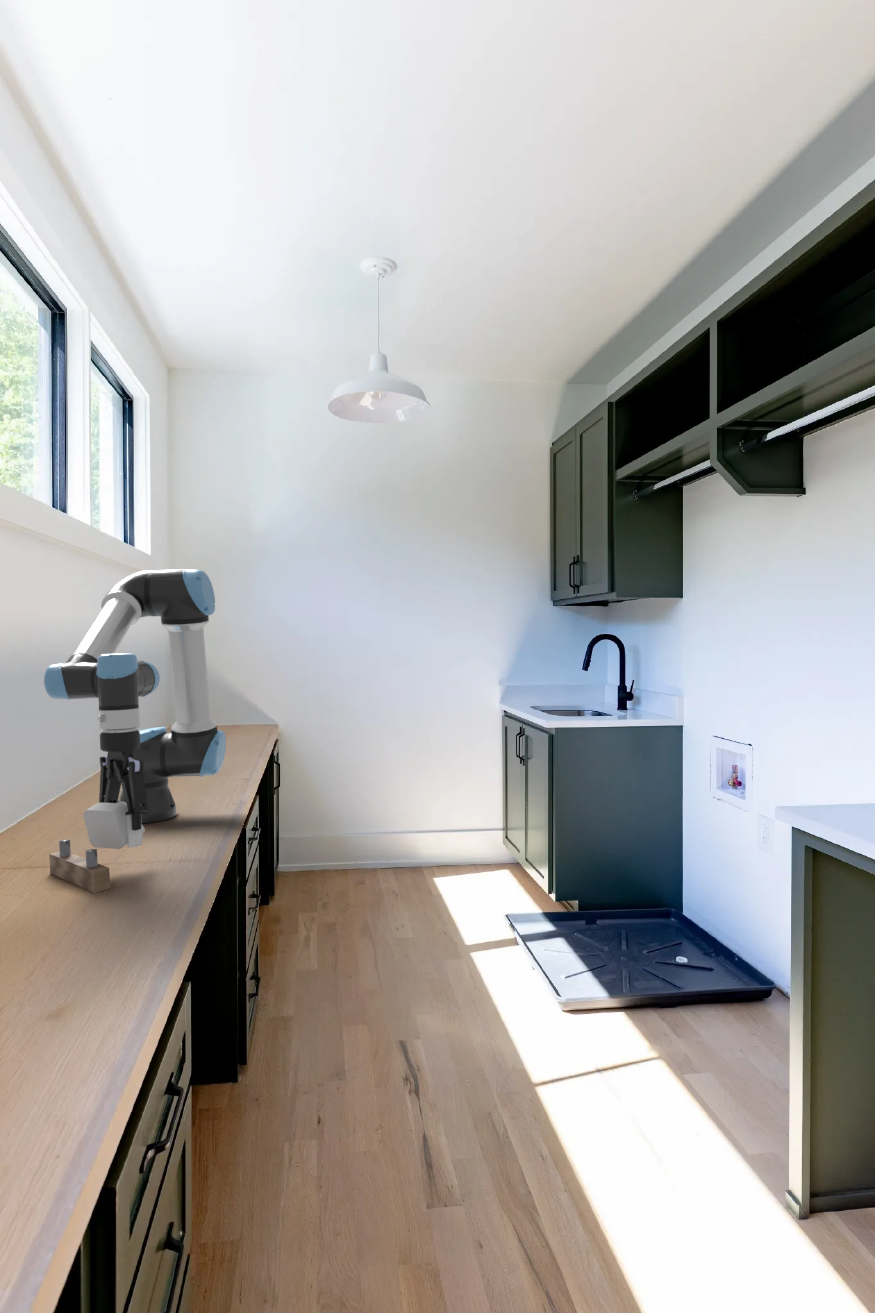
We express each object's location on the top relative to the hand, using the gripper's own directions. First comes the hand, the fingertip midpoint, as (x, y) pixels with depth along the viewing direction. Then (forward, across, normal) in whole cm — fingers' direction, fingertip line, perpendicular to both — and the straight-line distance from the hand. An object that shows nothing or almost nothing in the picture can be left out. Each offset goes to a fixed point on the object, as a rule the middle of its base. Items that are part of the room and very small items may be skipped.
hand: (124, 842), depth 164 cm
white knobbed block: (0, -1, 0) cm, 1 cm away
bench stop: (+6, -2, -8) cm, 11 cm away
